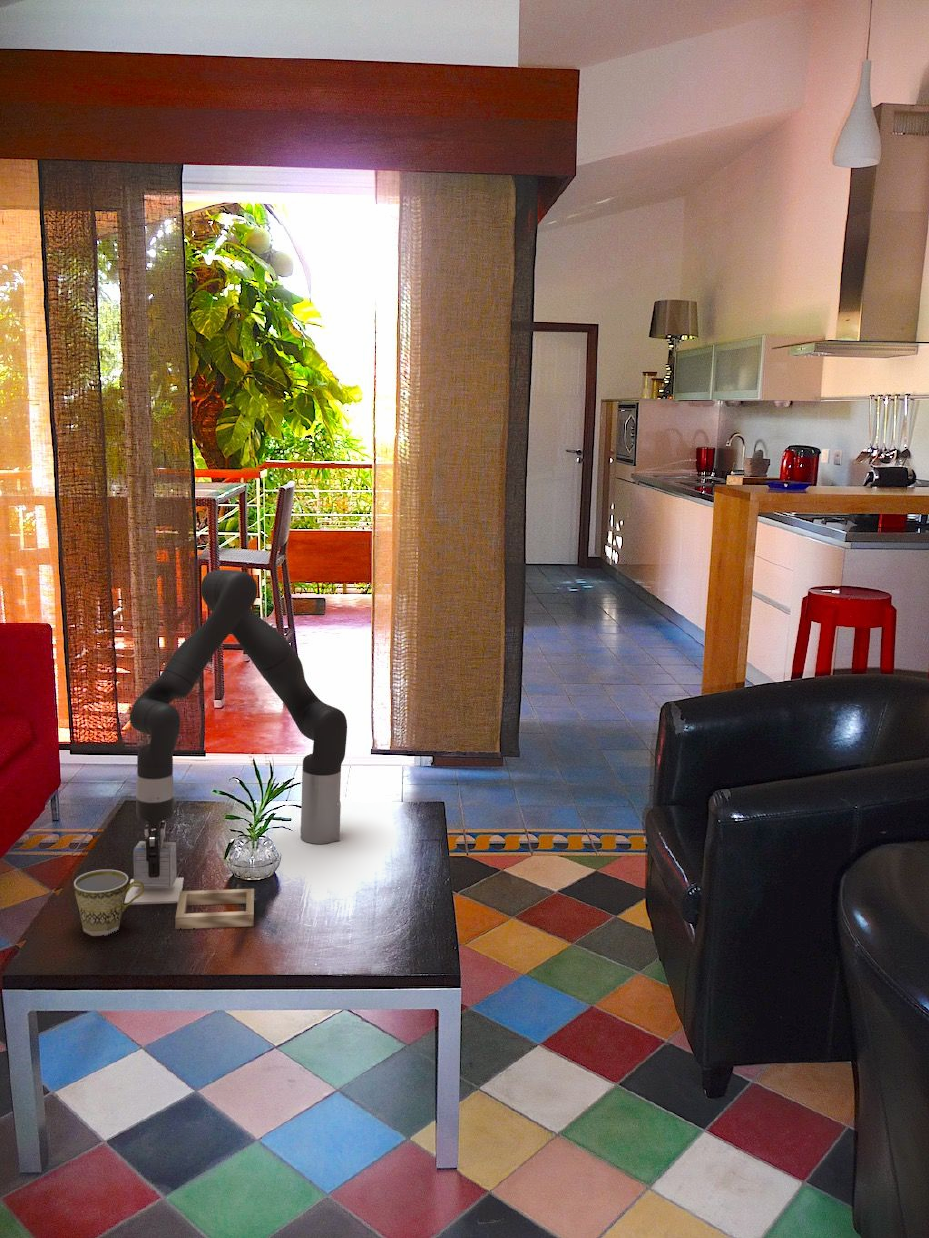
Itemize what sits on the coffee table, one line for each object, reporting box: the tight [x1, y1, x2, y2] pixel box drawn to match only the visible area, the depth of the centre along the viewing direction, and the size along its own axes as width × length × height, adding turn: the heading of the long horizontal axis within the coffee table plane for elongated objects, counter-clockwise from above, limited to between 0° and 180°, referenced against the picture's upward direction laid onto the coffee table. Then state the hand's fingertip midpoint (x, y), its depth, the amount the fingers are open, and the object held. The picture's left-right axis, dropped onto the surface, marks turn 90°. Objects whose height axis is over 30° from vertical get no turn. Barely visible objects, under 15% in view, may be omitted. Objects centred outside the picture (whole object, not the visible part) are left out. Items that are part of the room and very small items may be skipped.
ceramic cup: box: [73, 869, 144, 937], centre depth 197 cm, size 13×10×10 cm
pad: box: [124, 876, 185, 906], centre depth 214 cm, size 11×11×1 cm
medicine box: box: [133, 840, 177, 888], centre depth 213 cm, size 8×4×9 cm, turn 92°
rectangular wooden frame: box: [174, 888, 255, 930], centre depth 206 cm, size 15×12×2 cm
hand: (155, 870), depth 213 cm, fingers closed on medicine box, 5 cm apart
